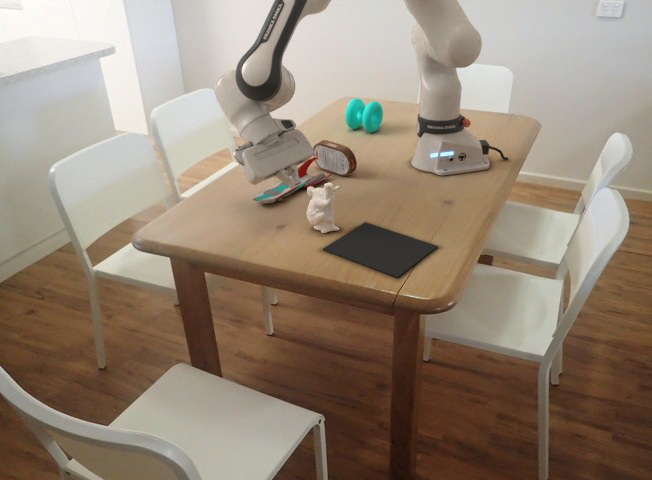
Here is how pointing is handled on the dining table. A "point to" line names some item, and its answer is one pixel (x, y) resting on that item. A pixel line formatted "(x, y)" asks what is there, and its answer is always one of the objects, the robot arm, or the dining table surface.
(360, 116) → the turquoise yo-yo
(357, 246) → the mat
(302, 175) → the toy spaceship
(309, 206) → the white animal figurine
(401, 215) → the dining table surface
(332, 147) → the tin
